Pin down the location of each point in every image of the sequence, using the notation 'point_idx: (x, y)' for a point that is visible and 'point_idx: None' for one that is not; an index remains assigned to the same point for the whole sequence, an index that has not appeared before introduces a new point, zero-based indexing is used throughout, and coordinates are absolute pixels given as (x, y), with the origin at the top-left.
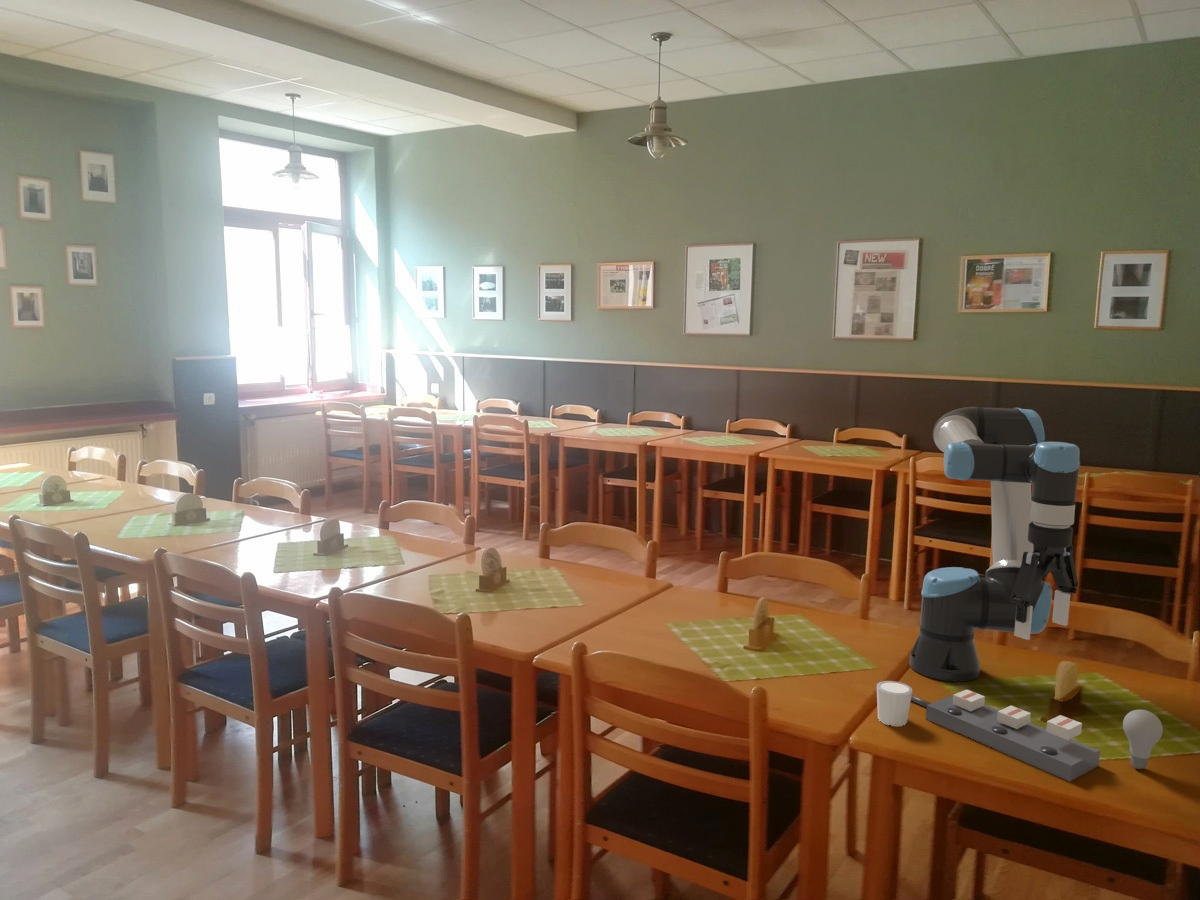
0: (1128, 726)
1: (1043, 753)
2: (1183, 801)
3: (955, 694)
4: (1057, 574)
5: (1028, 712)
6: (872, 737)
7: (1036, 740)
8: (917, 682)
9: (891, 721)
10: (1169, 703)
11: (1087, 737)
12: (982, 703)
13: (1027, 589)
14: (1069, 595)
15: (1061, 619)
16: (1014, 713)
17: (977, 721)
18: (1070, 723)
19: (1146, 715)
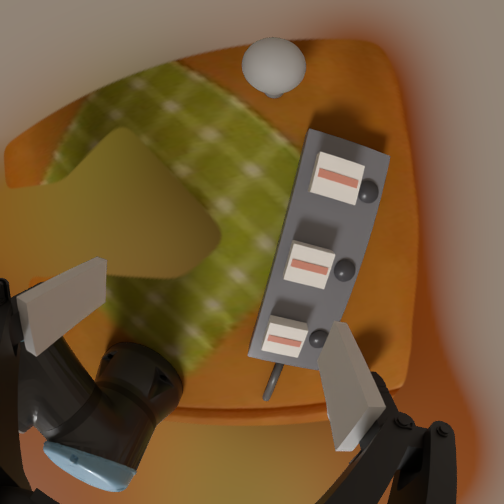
0: (300, 80)
1: (378, 196)
2: (328, 44)
3: (294, 356)
4: (6, 420)
5: (293, 247)
6: (396, 373)
7: (342, 215)
8: (207, 393)
9: None
10: (50, 133)
11: (215, 167)
12: (275, 318)
13: (448, 479)
14: (26, 297)
15: (96, 280)
16: (316, 265)
17: (330, 305)
18: (336, 168)
19: (286, 48)
